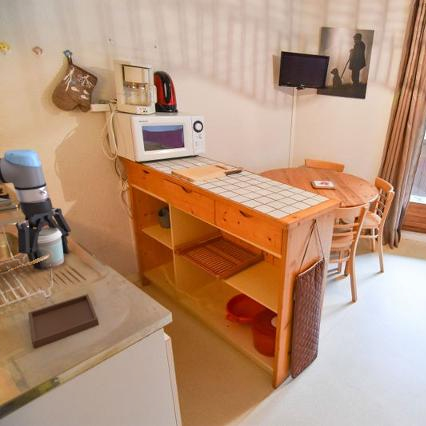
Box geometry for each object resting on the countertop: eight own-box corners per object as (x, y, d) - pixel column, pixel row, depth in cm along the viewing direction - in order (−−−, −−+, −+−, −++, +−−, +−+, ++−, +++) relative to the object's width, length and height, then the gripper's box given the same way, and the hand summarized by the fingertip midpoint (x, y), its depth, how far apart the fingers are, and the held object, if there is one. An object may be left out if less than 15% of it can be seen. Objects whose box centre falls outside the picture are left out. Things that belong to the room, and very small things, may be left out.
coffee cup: (31, 265, 106) (20, 234, 102) (58, 254, 114) (49, 224, 109) (47, 272, 104) (37, 240, 99) (74, 260, 111) (66, 229, 107)
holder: (30, 318, 85) (28, 312, 84) (89, 299, 94) (87, 293, 93) (34, 348, 76) (32, 342, 76) (99, 324, 85) (97, 318, 84)
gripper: (10, 214, 89) (32, 280, 98) (74, 189, 110) (87, 246, 118) (-14, 211, 90) (10, 277, 99) (54, 187, 110) (69, 244, 119)
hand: (52, 260), depth 108 cm, fingers open, 9 cm apart
